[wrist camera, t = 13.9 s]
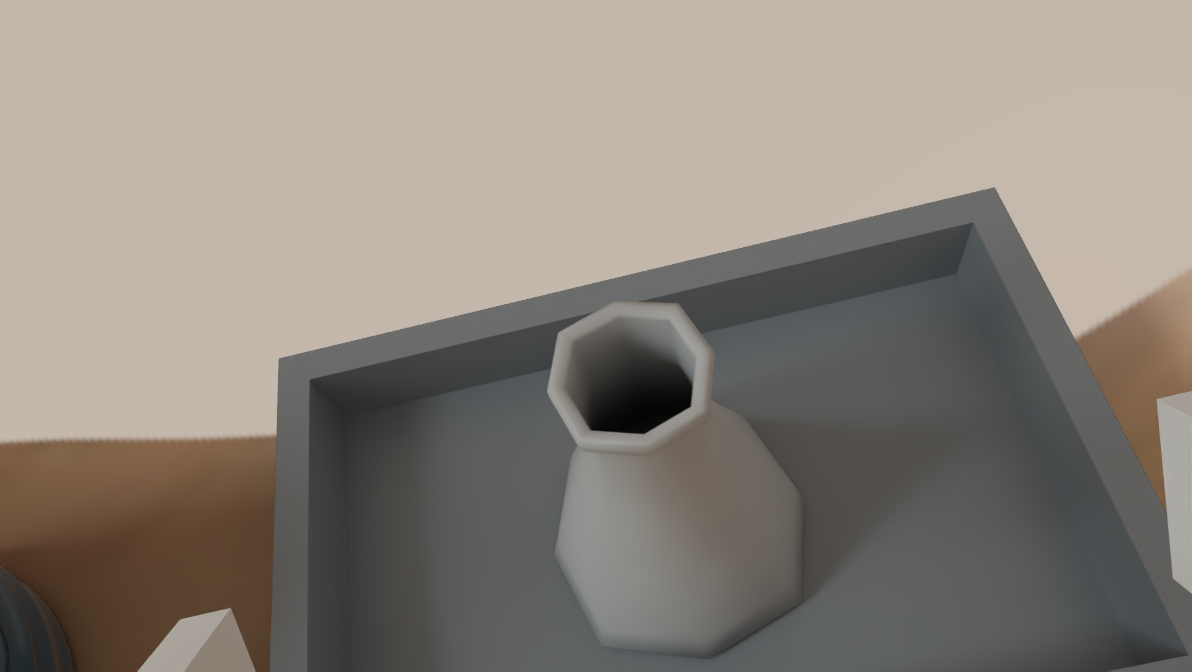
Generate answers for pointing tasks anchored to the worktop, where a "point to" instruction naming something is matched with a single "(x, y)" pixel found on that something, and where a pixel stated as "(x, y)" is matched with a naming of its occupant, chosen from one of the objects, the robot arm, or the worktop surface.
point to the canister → (29, 631)
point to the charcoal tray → (792, 433)
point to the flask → (667, 490)
